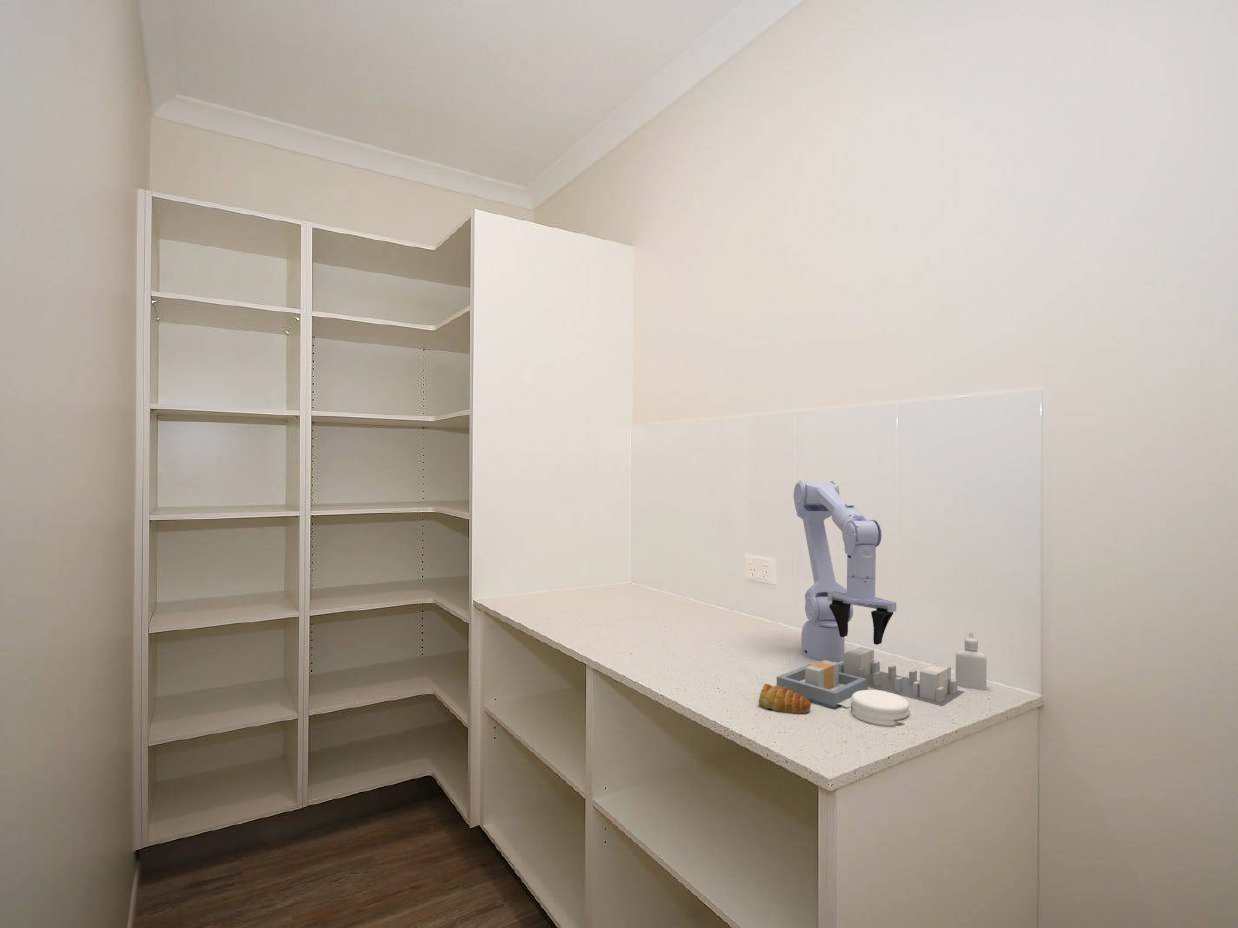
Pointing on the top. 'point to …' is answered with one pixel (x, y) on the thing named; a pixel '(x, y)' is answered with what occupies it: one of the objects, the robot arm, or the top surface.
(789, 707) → the pastry
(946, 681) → the block
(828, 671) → the orange fuse
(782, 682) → the tray
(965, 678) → the eye dropper bottle
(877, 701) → the white round tin
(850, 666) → the ivory fuse left
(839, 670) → the panel
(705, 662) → the top surface
